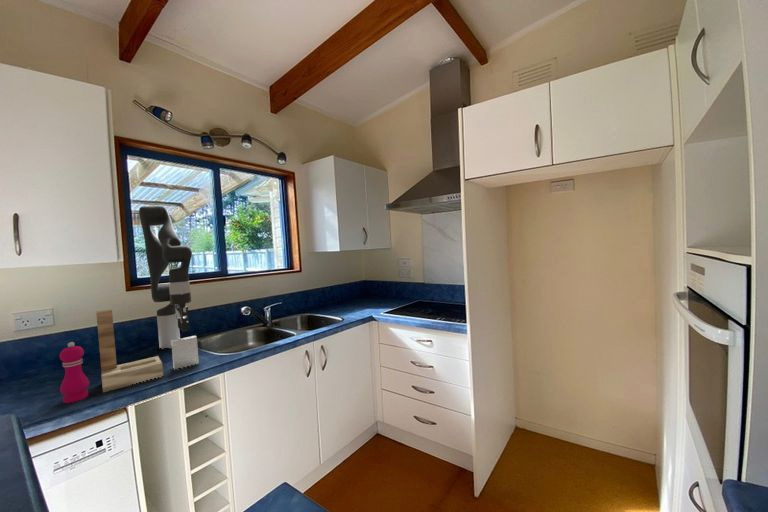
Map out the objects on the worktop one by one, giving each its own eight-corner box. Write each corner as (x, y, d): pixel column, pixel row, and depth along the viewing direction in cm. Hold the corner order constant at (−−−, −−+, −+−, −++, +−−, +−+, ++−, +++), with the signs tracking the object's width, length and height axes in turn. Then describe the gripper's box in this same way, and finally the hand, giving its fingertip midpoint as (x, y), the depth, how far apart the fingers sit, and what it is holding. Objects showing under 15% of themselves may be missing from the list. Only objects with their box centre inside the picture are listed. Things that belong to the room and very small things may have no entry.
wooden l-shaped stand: (102, 382, 122) (96, 311, 121) (158, 368, 134) (153, 303, 133) (103, 392, 113) (96, 315, 112) (163, 376, 126) (157, 307, 124)
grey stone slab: (173, 368, 134) (171, 340, 134) (197, 362, 140) (195, 335, 140) (174, 370, 132) (172, 341, 131) (198, 363, 138) (196, 336, 137)
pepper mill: (93, 392, 114) (88, 337, 114) (86, 400, 108) (80, 342, 107) (66, 397, 111) (61, 341, 110) (57, 406, 105) (51, 347, 104)
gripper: (167, 292, 138) (170, 329, 138) (172, 294, 127) (175, 334, 128) (187, 290, 143) (189, 325, 143) (194, 292, 132) (196, 330, 133)
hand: (183, 329), depth 135 cm, fingers open, 8 cm apart
